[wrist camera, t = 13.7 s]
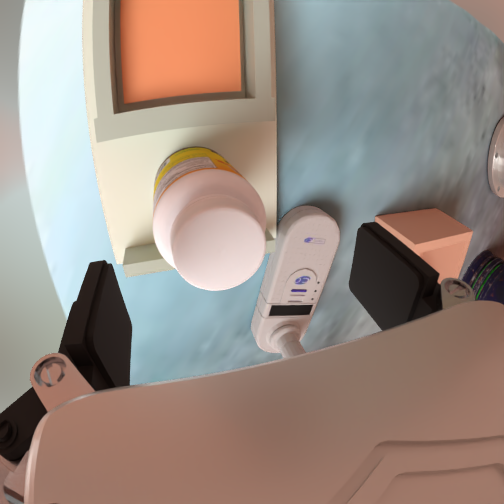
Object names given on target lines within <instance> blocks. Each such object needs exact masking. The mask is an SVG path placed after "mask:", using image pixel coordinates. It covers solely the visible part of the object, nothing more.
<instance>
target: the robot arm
mask: <svg viewBox="0 0 504 504" xmlns="http://www.w3.org/2000/svg"><path fill="white" fill-rule="evenodd" d="M488 180H489V185H490V187H491V190H492V192H493V193H494V194H495V195H497V196H499V197H501V198H504V117H503V118H502V119H501V120H500V122H499V123H498V125H497V127H496V129H495V131H494V134H493V137H492V140H491V145H490V149H489V156H488ZM439 275H440V274H439V273H438V272H437V271H436V270H435V269H434V268H433V267H431V266H430V265H429V264H428V263H427V262H426V261H424V260H423V259H422V258H421V257H420V256H418V255H417V254H416V253H415V252H414V251H412V250H411V249H410V248H409V247H408V246H406V245H405V244H404V243H403V242H401V241H400V240H399V239H398V238H396V237H395V236H394V235H393V234H391V233H390V232H389V231H388V230H386V229H385V228H384V227H382V226H381V225H380V224H378V223H377V222H370V223H363V224H362V225H361V227H360V228H359V229H358V231H357V238H356V245H355V251H354V257H353V263H352V269H351V274H350V280H349V287H350V290H351V292H352V293H353V294H354V295H355V297H356V298H357V299H358V300H359V302H360V303H361V304H362V305H363V307H364V308H365V309H366V310H367V312H368V313H369V314H370V316H371V317H372V318H373V319H374V321H375V322H376V323H377V325H378V326H379V327H380V328H381V330H382V331H380V332H377V333H374V334H371V335H368V336H364V337H361V338H358V339H355V340H351V341H348V342H345V343H341V344H338V345H334V346H330V347H327V348H323V349H320V350H316V351H312V352H308V353H304V354H300V355H296V356H292V357H288V358H284V359H280V360H275V361H271V362H266V363H262V364H257V365H253V366H248V367H243V368H238V369H233V370H228V371H222V372H217V373H211V374H205V375H199V376H193V377H187V378H180V379H173V380H166V381H159V382H152V383H145V384H138V385H131V386H130V358H131V340H132V324H131V320H130V317H129V315H128V312H127V309H126V306H125V303H124V300H123V297H122V294H121V291H120V288H119V285H118V282H117V278H116V275H115V272H114V269H113V266H112V264H111V263H110V264H107V262H106V261H105V260H103V261H96V262H91V263H90V264H89V267H88V269H87V272H86V275H85V278H84V280H83V283H82V286H81V289H80V292H79V295H78V298H77V301H75V302H73V304H72V307H71V310H70V313H69V317H68V320H67V323H66V327H65V330H64V334H63V337H62V340H61V344H60V348H59V351H58V353H52V354H48V355H45V356H44V357H42V358H40V359H39V360H38V361H37V362H36V363H35V365H34V366H33V367H32V370H31V373H30V381H31V383H32V386H33V387H32V388H30V389H29V390H28V391H27V392H26V393H24V394H23V395H22V396H21V397H20V398H18V399H17V400H16V401H15V402H14V403H13V404H11V405H10V406H9V407H8V408H6V410H4V411H3V412H2V413H1V414H0V504H504V305H503V304H501V303H499V302H494V301H480V300H476V299H475V296H474V292H473V290H472V288H471V287H470V286H469V285H468V284H467V283H465V282H464V281H462V280H459V279H456V278H445V279H443V280H442V281H441V284H439V283H438V282H437V281H438V278H439Z"/></svg>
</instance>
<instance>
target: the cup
mask: <svg viewBox="0 0 504 504" xmlns="http://www.w3.org/2000/svg"><path fill="white" fill-rule="evenodd" d="M375 222H377V223H378V224H380V225H381V226H382V227H384V228H385V229H386V230H388V231H389V232H390V233H391V234H393V235H394V236H395V237H396V238H398V239H399V240H400V241H401V242H403V243H404V244H405V245H406V246H408V247H409V248H410V249H411V250H412V251H414V252H415V253H416V254H417V255H418V256H420V257H421V258H422V259H423V260H424V261H426V262H427V263H428V264H429V265H430V266H431V267H433V268H434V269H435V270H436V271H437V272H438V273H439V274H440V275H439V278H438V281H437V282H438V283H439V284H441V281H442V280H443V279H445V278H456V279H458V276H459V274H460V271H461V268H462V265H463V262H464V259H465V256H466V253H467V250H468V247H469V243H470V240H471V237H472V233H473V231H472V230H471V229H469V228H468V227H466V226H464V225H463V224H461V223H460V222H458V221H456V220H455V219H453V218H452V217H450V216H448V215H447V214H445V213H443V212H442V211H440V210H438V209H437V208H433V209H425V210H417V211H410V212H402V213H395V214H387V215H380V216H376V217H375Z"/></svg>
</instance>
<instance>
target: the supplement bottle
mask: <svg viewBox="0 0 504 504" xmlns="http://www.w3.org/2000/svg"><path fill="white" fill-rule="evenodd" d="M265 230H266V212H265V208H264V204H263V202H262V200H261V198H260V196H259V194H258V193H257V191H256V190H255V189H254V187H253V186H252V185H251V184H250V183H249V182H248V181H247V180H246V179H245V178H244V177H243V176H242V175H241V174H240V173H239V172H238V171H237V170H236V169H235V168H234V167H233V166H232V165H231V164H230V163H229V162H228V161H227V160H226V159H225V158H224V157H222V156H221V155H220V154H218V153H217V152H215V151H214V150H212V149H209V148H206V147H200V146H191V147H185V148H182V149H179V150H177V151H175V152H174V153H172V154H171V155H169V156H168V157H167V158H166V159H165V160H164V161H163V163H162V164H161V166H160V167H159V169H158V171H157V174H156V177H155V182H154V194H153V235H154V240H155V243H156V246H157V248H158V250H159V252H160V253H161V255H162V256H163V258H164V259H165V260H166V261H167V262H168V263H169V264H170V265H171V266H173V267H174V268H175V269H177V270H178V272H179V273H180V275H181V276H182V277H183V278H184V279H185V280H186V281H187V282H189V283H190V284H192V285H193V286H196V287H198V288H201V289H205V290H213V291H216V290H225V289H229V288H232V287H235V286H237V285H240V284H241V283H243V282H245V281H246V280H247V279H249V278H250V277H251V276H252V275H253V274H254V273H255V272H256V271H257V269H258V268H259V266H260V265H261V263H262V261H263V259H264V256H265V252H266V236H265Z"/></svg>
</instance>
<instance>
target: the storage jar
mask: <svg viewBox="0 0 504 504" xmlns="http://www.w3.org/2000/svg"><path fill="white" fill-rule="evenodd" d="M462 281H464V282H465V283H467V284H468V285H469V286H470V287H471V288H472V290H473V292H474V296H475V299H476V300H480V301H494V302H499V303H501V304H503V305H504V261H503V260H502V259H501V258H498V257H497V256H495V255H493V254H492V253H491V252H490V251H487V250H486V251H484V252H482V253H480V254H479V255H478V256H477V257H476V258H475V259H474V261H473V262H472V263H471V265H470V266H469V268H468V269H467V271H466V273H465V275H464V277H463V279H462Z"/></svg>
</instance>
